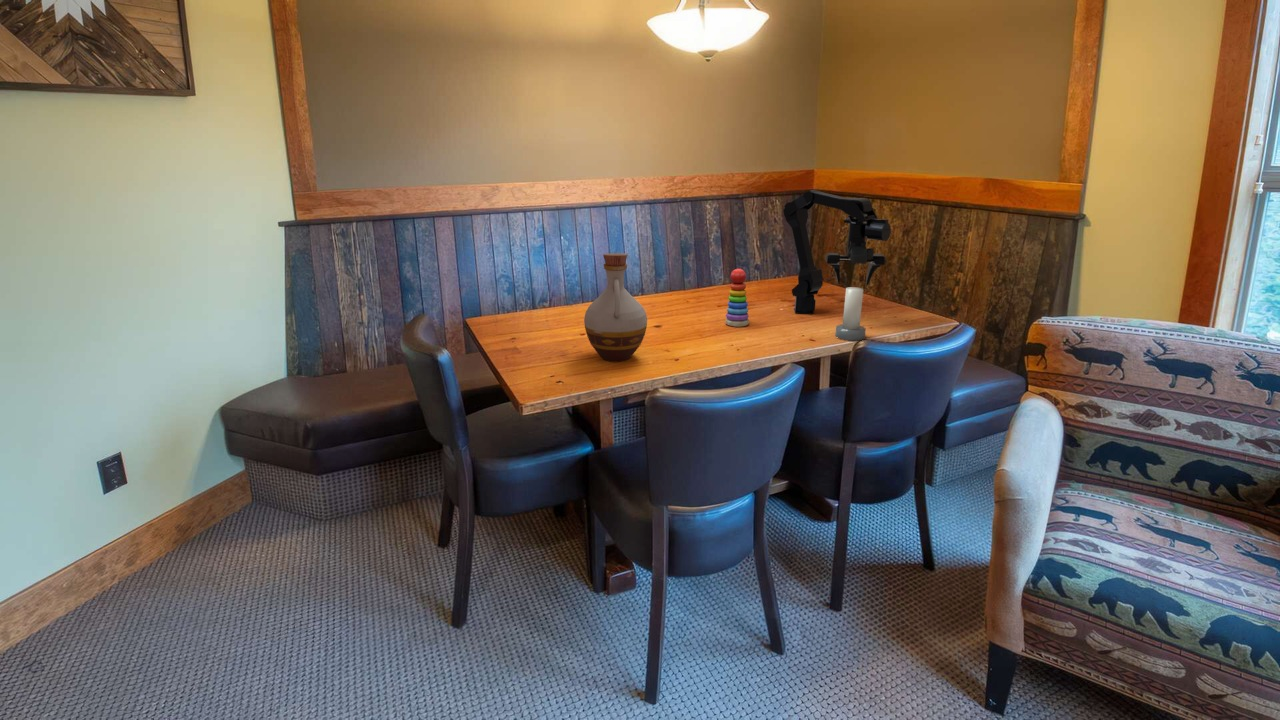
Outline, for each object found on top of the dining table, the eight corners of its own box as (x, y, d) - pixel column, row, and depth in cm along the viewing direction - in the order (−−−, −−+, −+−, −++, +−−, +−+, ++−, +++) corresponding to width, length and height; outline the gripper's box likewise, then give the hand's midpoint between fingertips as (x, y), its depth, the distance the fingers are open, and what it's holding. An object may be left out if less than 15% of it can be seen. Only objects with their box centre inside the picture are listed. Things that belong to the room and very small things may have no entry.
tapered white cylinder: (847, 330, 225) (851, 291, 221) (839, 326, 230) (842, 287, 226) (862, 329, 226) (866, 290, 223) (853, 325, 231) (857, 286, 227)
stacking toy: (751, 322, 245) (753, 267, 240) (746, 328, 238) (749, 272, 232) (728, 320, 248) (730, 266, 242) (722, 326, 241) (725, 270, 235)
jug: (650, 368, 198) (651, 260, 189) (585, 370, 197) (583, 260, 188) (644, 347, 217) (644, 247, 208) (584, 348, 216) (582, 248, 206)
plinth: (837, 340, 225) (838, 331, 224) (833, 332, 234) (834, 323, 233) (867, 341, 224) (868, 332, 223) (862, 333, 233) (862, 324, 232)
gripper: (831, 240, 231) (827, 288, 236) (891, 242, 229) (886, 290, 234) (826, 235, 242) (823, 281, 247) (884, 236, 240) (879, 283, 245)
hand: (852, 284), depth 243 cm, fingers open, 9 cm apart
